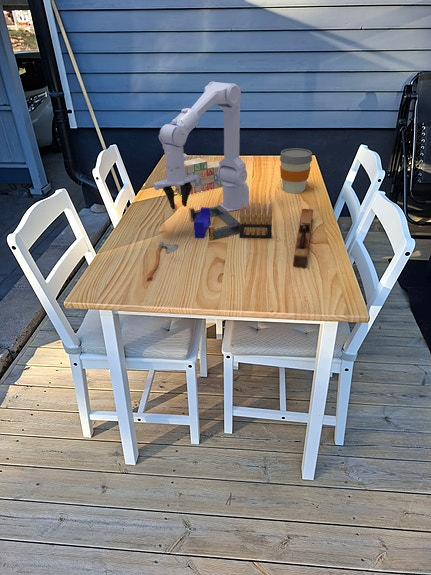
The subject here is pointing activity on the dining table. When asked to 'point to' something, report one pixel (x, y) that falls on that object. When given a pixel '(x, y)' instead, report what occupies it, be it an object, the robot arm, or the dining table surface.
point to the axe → (168, 248)
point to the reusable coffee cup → (295, 169)
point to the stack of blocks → (202, 175)
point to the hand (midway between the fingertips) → (178, 206)
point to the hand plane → (303, 239)
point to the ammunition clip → (256, 222)
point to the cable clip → (202, 223)
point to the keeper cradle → (222, 214)
